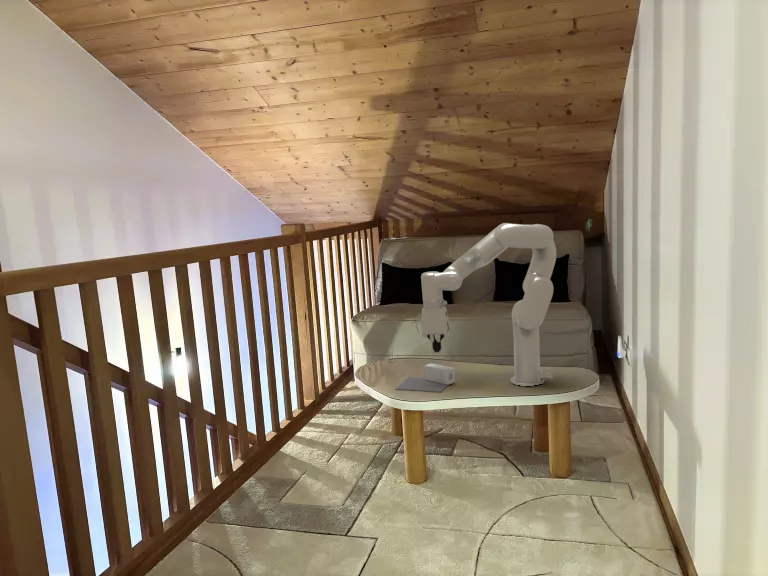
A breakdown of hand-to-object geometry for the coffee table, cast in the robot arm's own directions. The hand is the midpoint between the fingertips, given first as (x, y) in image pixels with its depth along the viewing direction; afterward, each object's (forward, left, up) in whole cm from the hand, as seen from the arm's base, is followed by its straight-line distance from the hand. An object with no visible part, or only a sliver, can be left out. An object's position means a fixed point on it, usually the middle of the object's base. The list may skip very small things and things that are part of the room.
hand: (437, 351), depth 221 cm
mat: (+6, 0, -13) cm, 15 cm away
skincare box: (-5, -1, -10) cm, 11 cm away
